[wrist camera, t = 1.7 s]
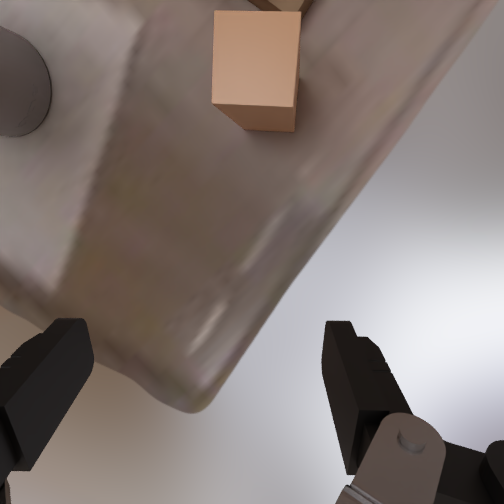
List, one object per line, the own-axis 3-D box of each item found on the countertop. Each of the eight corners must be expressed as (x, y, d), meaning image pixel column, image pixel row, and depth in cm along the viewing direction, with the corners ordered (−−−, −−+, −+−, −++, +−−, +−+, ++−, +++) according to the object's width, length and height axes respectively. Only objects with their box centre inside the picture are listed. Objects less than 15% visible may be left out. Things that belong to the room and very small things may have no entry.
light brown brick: (244, 129, 30) (211, 103, 18) (247, 75, 29) (214, 10, 17) (294, 132, 29) (293, 107, 18) (299, 77, 28) (301, 11, 16)
